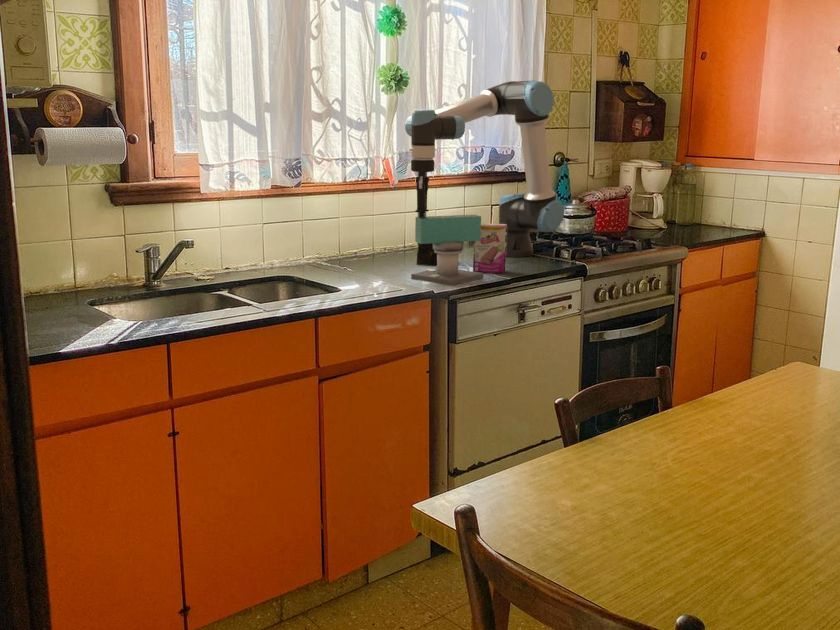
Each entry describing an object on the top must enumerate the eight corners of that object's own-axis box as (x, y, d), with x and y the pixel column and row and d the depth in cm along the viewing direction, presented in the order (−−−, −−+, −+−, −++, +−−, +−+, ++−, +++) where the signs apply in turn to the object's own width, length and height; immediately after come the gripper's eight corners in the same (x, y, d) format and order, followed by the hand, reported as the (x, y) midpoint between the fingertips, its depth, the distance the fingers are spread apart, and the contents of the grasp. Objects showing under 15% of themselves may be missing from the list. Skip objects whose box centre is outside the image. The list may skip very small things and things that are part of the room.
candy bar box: (472, 272, 288) (474, 224, 284) (473, 270, 292) (474, 222, 288) (505, 273, 286) (507, 225, 283) (505, 270, 291) (507, 223, 287)
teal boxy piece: (412, 247, 277) (412, 216, 274) (470, 244, 284) (471, 213, 281) (423, 252, 268) (424, 219, 265) (483, 249, 275) (484, 217, 272)
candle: (416, 264, 301) (416, 237, 299) (426, 260, 310) (426, 233, 308) (442, 267, 298) (443, 238, 295) (452, 262, 307) (452, 235, 304)
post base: (442, 271, 290) (443, 243, 287) (483, 277, 279) (484, 249, 277) (411, 278, 277) (411, 249, 275) (452, 285, 267) (453, 256, 264)
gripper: (413, 157, 277) (412, 228, 283) (408, 160, 264) (407, 234, 270) (436, 157, 276) (434, 229, 282) (432, 160, 263) (431, 235, 269)
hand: (421, 231), depth 276 cm, fingers closed
